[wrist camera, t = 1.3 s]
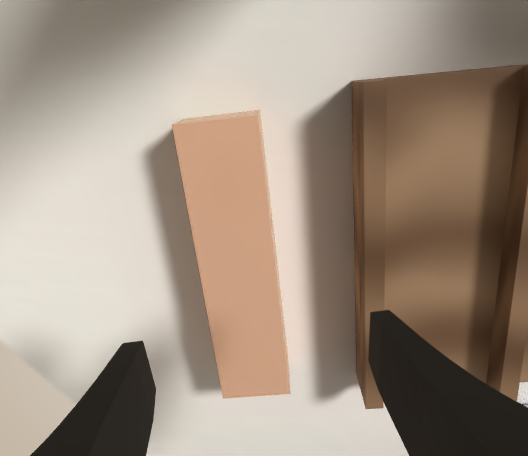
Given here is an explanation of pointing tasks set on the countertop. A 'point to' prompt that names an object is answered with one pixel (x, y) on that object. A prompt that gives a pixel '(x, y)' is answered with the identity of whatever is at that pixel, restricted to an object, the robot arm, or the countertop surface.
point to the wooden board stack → (444, 217)
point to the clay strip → (235, 249)
